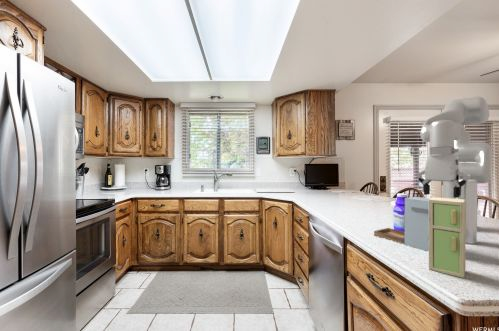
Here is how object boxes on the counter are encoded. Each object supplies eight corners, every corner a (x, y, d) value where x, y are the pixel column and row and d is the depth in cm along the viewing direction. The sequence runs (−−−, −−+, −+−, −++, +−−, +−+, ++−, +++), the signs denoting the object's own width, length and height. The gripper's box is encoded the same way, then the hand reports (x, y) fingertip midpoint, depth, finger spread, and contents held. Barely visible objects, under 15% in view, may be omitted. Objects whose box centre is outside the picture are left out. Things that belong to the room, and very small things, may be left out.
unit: (415, 241, 95) (416, 196, 95) (452, 250, 84) (453, 200, 84) (403, 244, 90) (403, 198, 90) (440, 255, 80) (441, 203, 80)
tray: (387, 232, 107) (387, 227, 107) (414, 239, 97) (414, 234, 97) (374, 235, 102) (374, 231, 102) (401, 243, 92) (401, 238, 92)
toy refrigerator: (427, 270, 69) (427, 199, 69) (431, 262, 74) (432, 196, 74) (463, 279, 63) (464, 202, 63) (465, 271, 69) (466, 199, 68)
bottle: (390, 229, 111) (390, 193, 111) (400, 228, 112) (400, 192, 112) (404, 234, 104) (404, 195, 104) (414, 233, 105) (414, 194, 105)
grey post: (455, 237, 99) (456, 178, 99) (477, 241, 94) (477, 179, 94) (454, 241, 94) (454, 179, 94) (476, 245, 90) (477, 180, 90)
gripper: (474, 151, 86) (473, 198, 86) (421, 153, 101) (421, 193, 101) (466, 150, 83) (465, 199, 83) (412, 152, 98) (411, 193, 98)
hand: (440, 195), depth 92 cm, fingers open, 9 cm apart
